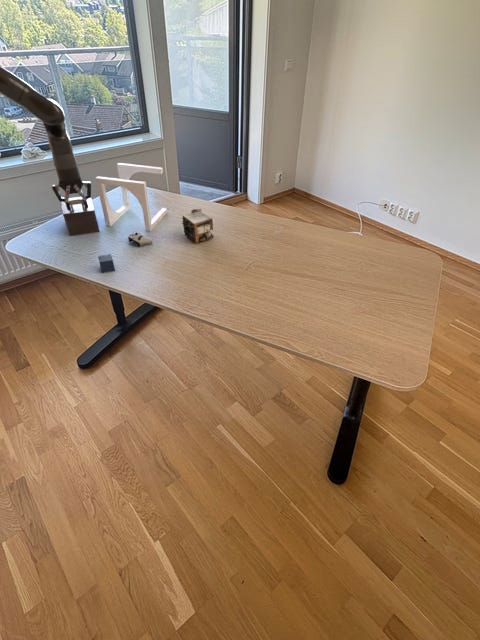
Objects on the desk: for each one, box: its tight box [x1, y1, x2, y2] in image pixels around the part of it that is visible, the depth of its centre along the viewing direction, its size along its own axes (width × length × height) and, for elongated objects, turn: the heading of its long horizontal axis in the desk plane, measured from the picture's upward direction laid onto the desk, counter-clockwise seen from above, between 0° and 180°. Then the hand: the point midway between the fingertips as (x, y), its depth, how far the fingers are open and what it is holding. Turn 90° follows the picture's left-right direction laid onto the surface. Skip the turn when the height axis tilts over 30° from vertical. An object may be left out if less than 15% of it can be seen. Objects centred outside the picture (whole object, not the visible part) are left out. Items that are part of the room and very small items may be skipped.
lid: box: [60, 196, 96, 217], centre depth 139 cm, size 15×12×5 cm
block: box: [97, 253, 116, 274], centre depth 122 cm, size 4×4×4 cm
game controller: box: [127, 231, 154, 248], centre depth 138 cm, size 10×5×6 cm
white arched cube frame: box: [95, 162, 168, 233], centre depth 148 cm, size 20×20×20 cm
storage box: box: [63, 211, 101, 237], centre depth 144 cm, size 15×12×9 cm
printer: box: [181, 208, 215, 243], centre depth 140 cm, size 11×25×10 cm, turn 24°
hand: (78, 209), depth 136 cm, fingers closed on lid, 5 cm apart
